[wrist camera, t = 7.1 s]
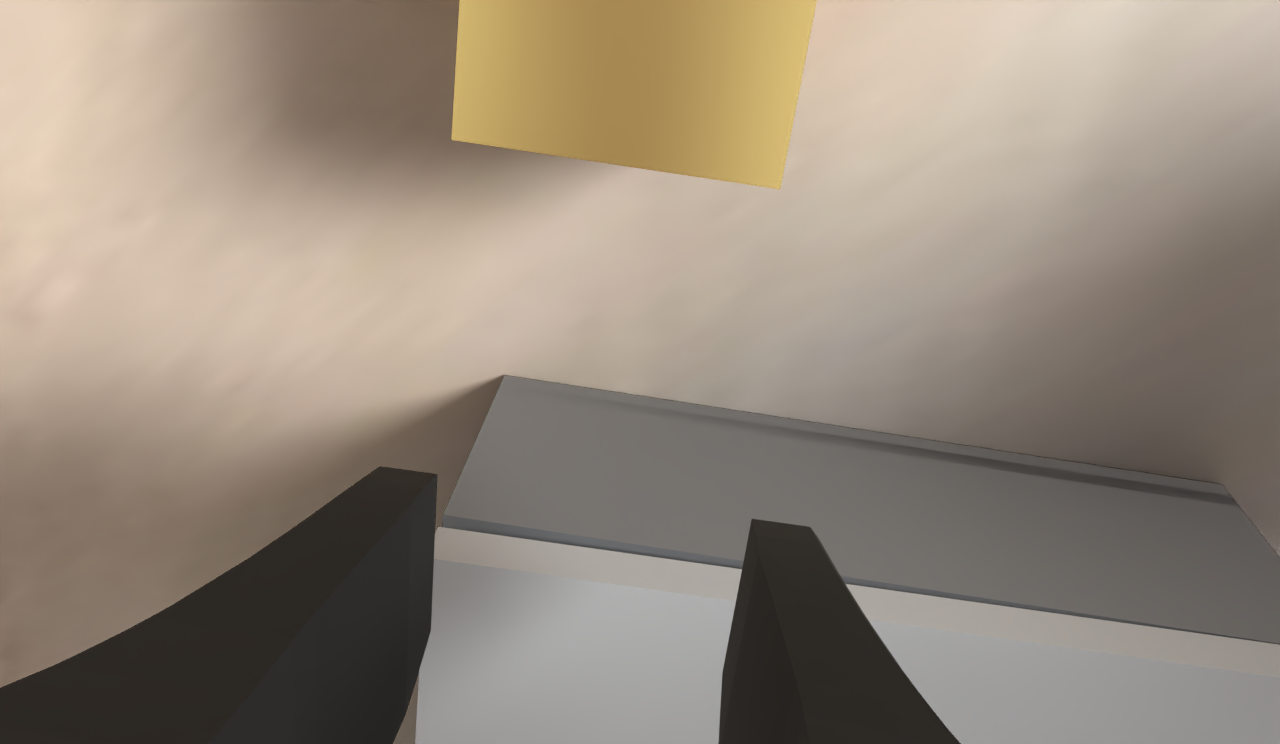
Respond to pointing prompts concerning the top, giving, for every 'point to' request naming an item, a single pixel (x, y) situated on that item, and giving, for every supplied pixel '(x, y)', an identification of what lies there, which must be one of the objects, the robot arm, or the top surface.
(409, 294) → the top surface
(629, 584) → the lid
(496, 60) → the block
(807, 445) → the box
